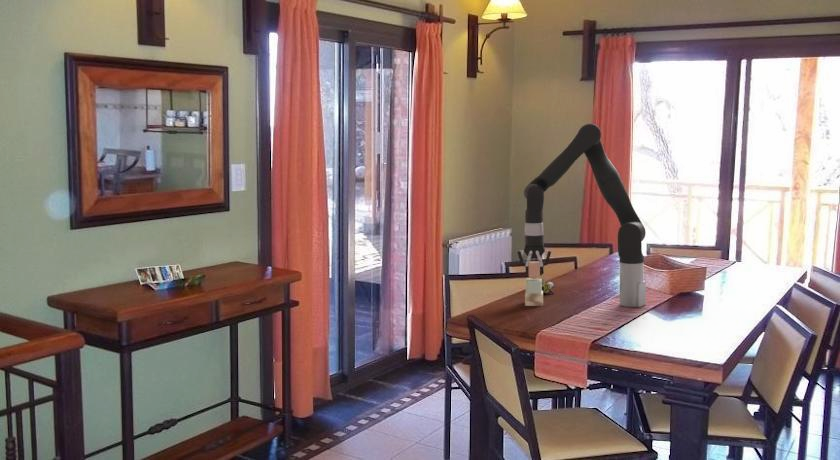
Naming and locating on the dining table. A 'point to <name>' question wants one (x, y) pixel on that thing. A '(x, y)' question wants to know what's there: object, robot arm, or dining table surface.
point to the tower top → (533, 286)
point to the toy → (547, 286)
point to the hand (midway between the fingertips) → (534, 275)
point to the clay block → (534, 269)
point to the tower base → (534, 299)
